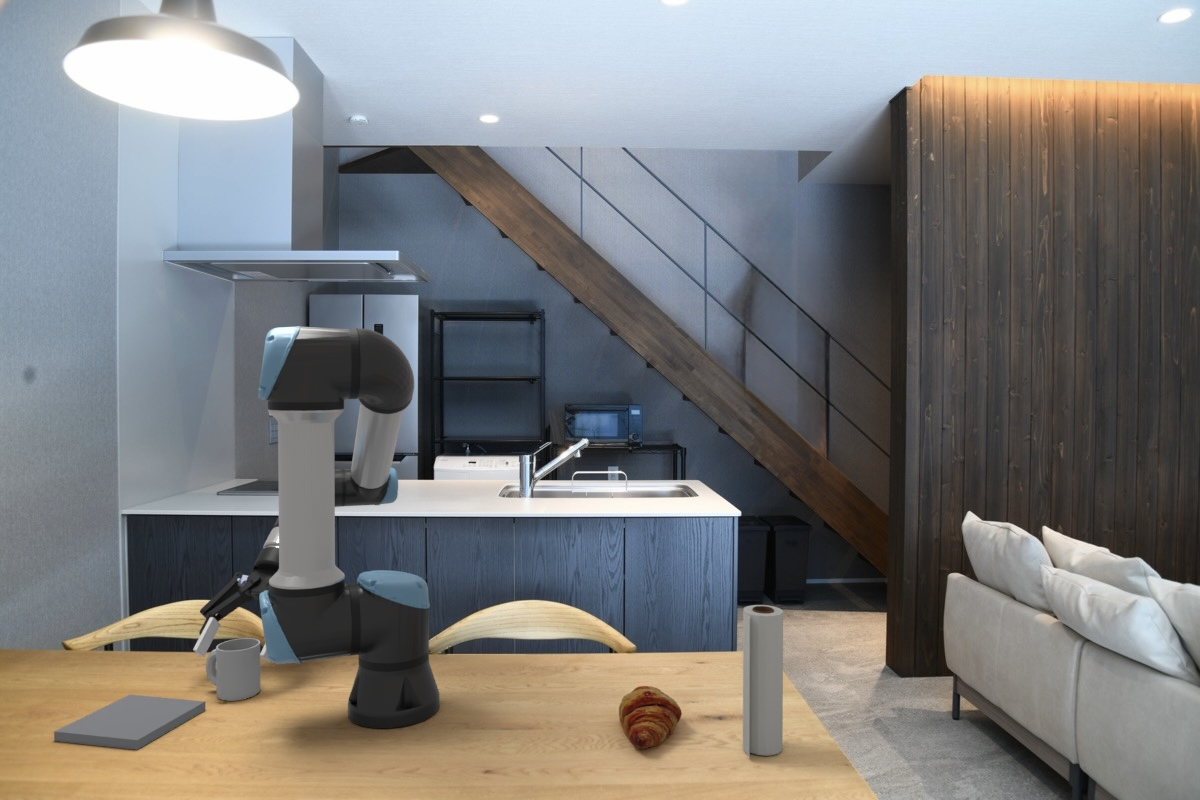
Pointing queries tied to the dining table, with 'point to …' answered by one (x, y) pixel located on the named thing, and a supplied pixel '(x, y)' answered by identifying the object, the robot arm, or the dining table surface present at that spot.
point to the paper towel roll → (762, 680)
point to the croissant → (648, 716)
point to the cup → (235, 669)
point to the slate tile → (130, 722)
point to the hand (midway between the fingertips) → (231, 656)
